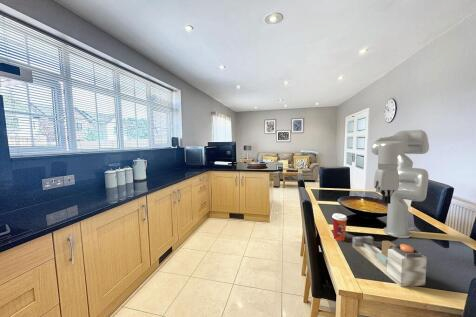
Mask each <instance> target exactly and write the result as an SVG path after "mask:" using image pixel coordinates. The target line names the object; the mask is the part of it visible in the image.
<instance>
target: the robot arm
mask: <svg viewBox="0 0 476 317" xmlns="http://www.w3.org/2000/svg"><path fill="white" fill-rule="evenodd" d="M429 150H430V144H429V137H428V134H427V133H426V131H424V130H422V129H415V130H414V129H411V130H400V131H397V132H396V133H394V134H393V135H390V136H386V137H381V138H378V139H376V140H375V141H373V143H372V145H371V153H372V154H373V155H375V156H377V157H378V158H377V169H376V170H375V173H374V178H373V188H374V189H375V192H376V193H378V194H379V193H380V195H381V197H382V198H381V202H382V203H384V204H387V215H386V216H387V217H386V226H385V227H384V228H383V233H385V234H388V235H389V236H391V237H395V238H400V239H409V238H411V236H412V235H411V233H410V232H414V231H416V230H415V227H413V226H412V227H411V226H410V227H409V226H408V224H409V222H408V220H409V206H408V203H407V202H406V201H405V200H407V201H413V202H414V201H415V202H424V201H425V200H426V199H427V192H428V187H429V186H428V185H429V172H428V170H426V169H424V168H419V167H413V165H414V162H413V160H412V158H410V157H409V156H407V155H413V154H414V155H423V154H424V155H425V154H427V153H428V152H429Z"/></svg>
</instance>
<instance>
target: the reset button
mask: <svg viewBox="0 0 476 317" xmlns="http://www.w3.org/2000/svg"><path fill="white" fill-rule="evenodd" d="M399 245H400V250H402V251H404V252H405V253H414V249H415V248H414V247H413V246H412V245H409V244H405V243H401V244H399Z"/></svg>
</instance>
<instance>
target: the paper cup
mask: <svg viewBox="0 0 476 317" xmlns="http://www.w3.org/2000/svg"><path fill="white" fill-rule="evenodd" d="M331 217H332V225H333V226H332V227H333V228H332V232H333V234H332V235H333V238H334V240H335V241H338V242H344V241H345V239H346V231H347V230H346V228H347V220H348V217H347V216H346V215H345V214H342V213H336V212H335V213H333V214H332V216H331Z"/></svg>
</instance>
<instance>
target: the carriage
mask: <svg viewBox="0 0 476 317" xmlns="http://www.w3.org/2000/svg"><path fill="white" fill-rule="evenodd" d="M395 245H396V244H394V243H393V242H392V241H390V240H382V241H381V251H382V253H377V255H376V256H377V257H378V260H379V261H380V262H382V263H383V264H384V265H385V266H387V259H388V249H393V246H395Z"/></svg>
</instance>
